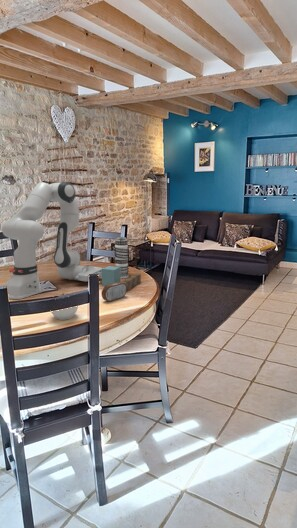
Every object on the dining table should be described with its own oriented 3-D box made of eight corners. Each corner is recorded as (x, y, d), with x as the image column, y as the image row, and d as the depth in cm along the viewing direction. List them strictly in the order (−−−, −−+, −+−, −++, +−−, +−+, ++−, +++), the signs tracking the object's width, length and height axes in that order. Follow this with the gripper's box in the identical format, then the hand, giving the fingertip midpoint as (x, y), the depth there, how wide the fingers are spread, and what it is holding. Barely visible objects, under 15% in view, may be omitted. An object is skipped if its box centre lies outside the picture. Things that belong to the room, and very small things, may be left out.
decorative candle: (115, 274, 230) (114, 236, 224) (129, 274, 230) (129, 236, 224) (114, 278, 221) (113, 238, 215) (129, 278, 221) (128, 238, 215)
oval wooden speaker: (123, 295, 187) (123, 280, 185) (127, 296, 185) (127, 281, 183) (101, 302, 176) (100, 285, 175) (105, 303, 174) (104, 287, 172)
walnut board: (125, 292, 192) (125, 283, 191) (120, 291, 194) (120, 282, 192) (140, 281, 213) (140, 273, 211) (136, 281, 214) (136, 273, 212)
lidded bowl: (52, 312, 162) (50, 289, 160) (80, 311, 163) (79, 288, 161) (47, 323, 150) (45, 298, 148) (77, 321, 151) (76, 297, 149)
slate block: (114, 287, 202) (114, 270, 200) (102, 285, 205) (101, 268, 203) (120, 283, 210) (120, 267, 207) (108, 282, 212) (108, 265, 210)
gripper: (72, 272, 203) (93, 274, 198) (90, 264, 222) (110, 266, 217) (73, 282, 204) (94, 285, 200) (90, 274, 223) (110, 276, 218)
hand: (102, 275), depth 208 cm, fingers closed
